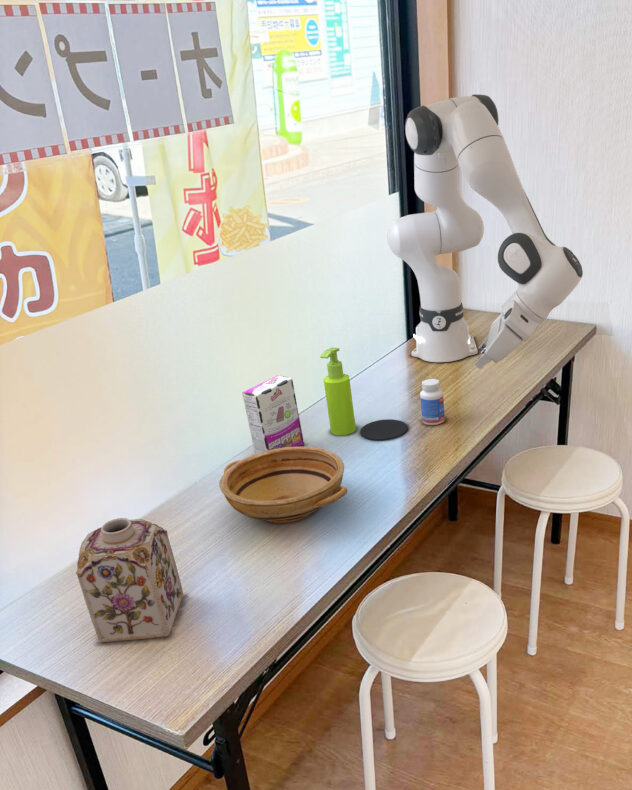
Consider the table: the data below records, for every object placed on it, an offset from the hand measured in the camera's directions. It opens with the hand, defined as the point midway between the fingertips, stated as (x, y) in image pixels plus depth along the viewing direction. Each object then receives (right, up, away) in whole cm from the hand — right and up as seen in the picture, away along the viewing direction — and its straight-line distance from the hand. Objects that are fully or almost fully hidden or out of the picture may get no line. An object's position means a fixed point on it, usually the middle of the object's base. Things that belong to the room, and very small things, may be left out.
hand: (479, 358), depth 191 cm
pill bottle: (-10, -13, +9) cm, 19 cm away
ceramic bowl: (-40, -34, -22) cm, 56 cm away
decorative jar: (-59, -51, -51) cm, 94 cm away
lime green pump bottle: (-31, -16, +9) cm, 36 cm away
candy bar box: (-45, -21, +1) cm, 50 cm away
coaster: (-22, -16, +7) cm, 27 cm away
